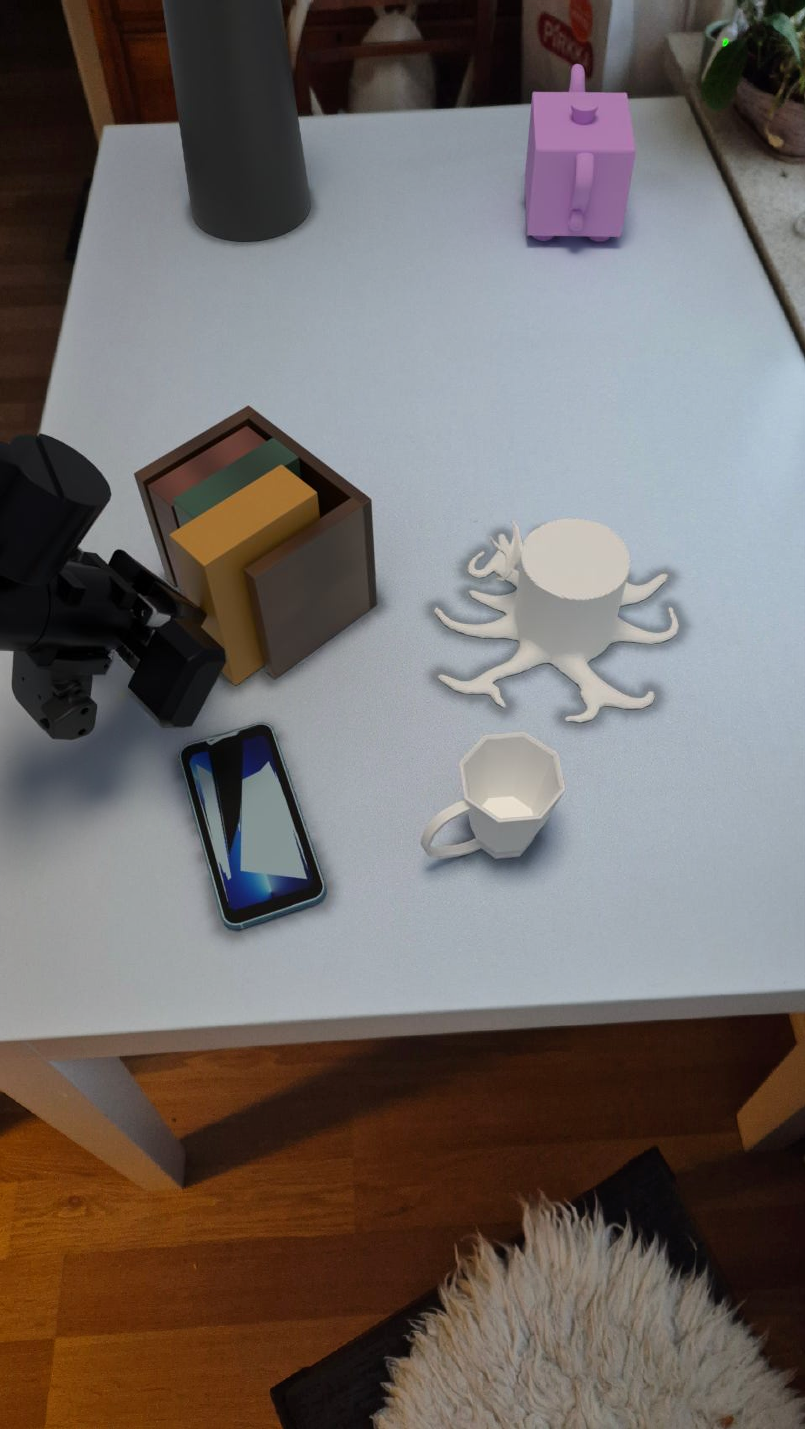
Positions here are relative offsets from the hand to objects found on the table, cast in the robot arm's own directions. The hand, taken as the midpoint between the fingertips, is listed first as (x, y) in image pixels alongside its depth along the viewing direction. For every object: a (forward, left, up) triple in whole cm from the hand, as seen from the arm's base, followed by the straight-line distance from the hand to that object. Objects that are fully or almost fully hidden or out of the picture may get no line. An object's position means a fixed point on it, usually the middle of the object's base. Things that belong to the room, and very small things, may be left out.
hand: (201, 617), depth 74 cm
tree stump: (+27, -2, -7) cm, 29 cm away
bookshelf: (+5, +7, -7) cm, 12 cm away
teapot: (+48, +55, -7) cm, 73 cm away
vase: (+13, +65, -7) cm, 67 cm away
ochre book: (+5, +3, -7) cm, 9 cm away
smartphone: (+1, -14, -7) cm, 16 cm away
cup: (+17, -19, -7) cm, 26 cm away
